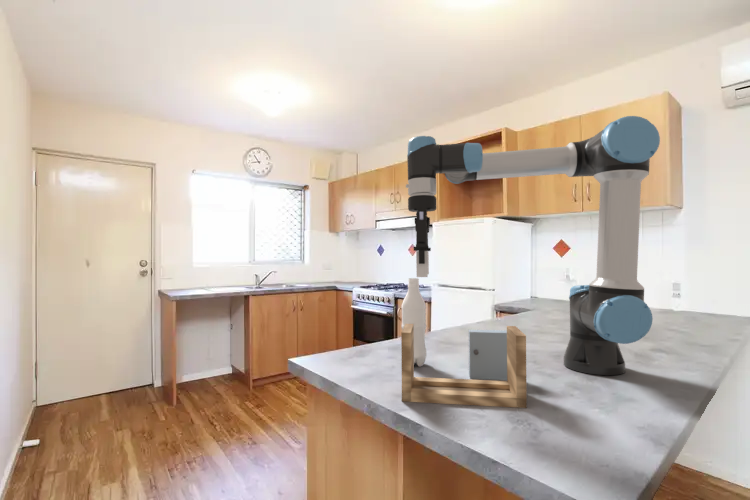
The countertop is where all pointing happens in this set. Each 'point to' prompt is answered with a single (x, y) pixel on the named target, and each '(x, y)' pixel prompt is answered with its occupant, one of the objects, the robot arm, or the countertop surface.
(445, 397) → the door frame
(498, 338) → the door panel
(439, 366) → the countertop surface
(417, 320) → the water bottle
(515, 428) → the countertop surface
